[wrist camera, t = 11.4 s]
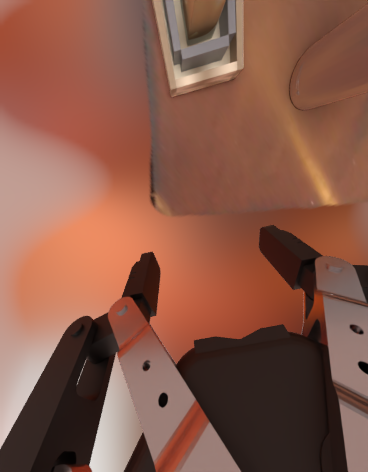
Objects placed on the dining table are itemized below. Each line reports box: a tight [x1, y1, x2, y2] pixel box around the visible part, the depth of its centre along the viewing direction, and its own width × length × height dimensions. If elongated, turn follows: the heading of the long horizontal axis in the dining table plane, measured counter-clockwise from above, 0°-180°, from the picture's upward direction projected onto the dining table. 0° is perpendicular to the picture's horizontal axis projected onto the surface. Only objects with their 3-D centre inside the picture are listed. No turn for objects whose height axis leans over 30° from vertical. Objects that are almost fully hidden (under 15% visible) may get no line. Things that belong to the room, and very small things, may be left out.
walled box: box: [152, 0, 244, 97], centre depth 21 cm, size 12×16×4 cm
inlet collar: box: [163, 0, 236, 72], centre depth 20 cm, size 9×11×4 cm
